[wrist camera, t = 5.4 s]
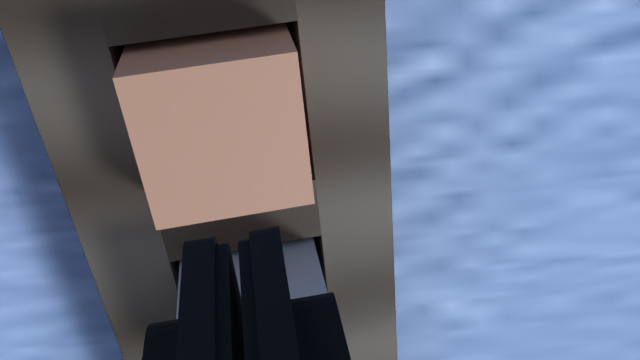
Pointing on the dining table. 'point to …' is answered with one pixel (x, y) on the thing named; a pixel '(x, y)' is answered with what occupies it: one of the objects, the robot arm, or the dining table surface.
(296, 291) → the slate button
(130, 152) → the console
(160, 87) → the terracotta button
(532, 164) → the dining table surface
